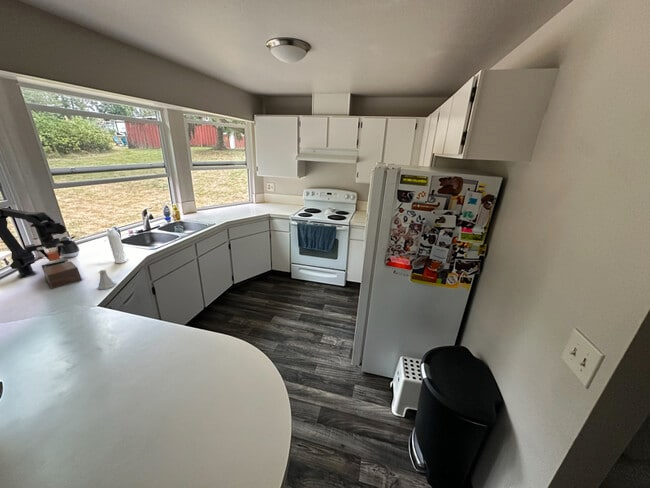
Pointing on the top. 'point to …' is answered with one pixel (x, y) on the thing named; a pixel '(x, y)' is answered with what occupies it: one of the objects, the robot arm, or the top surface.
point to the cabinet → (61, 274)
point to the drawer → (54, 263)
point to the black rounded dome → (70, 248)
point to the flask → (105, 280)
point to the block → (53, 255)
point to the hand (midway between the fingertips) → (53, 257)
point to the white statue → (116, 246)
